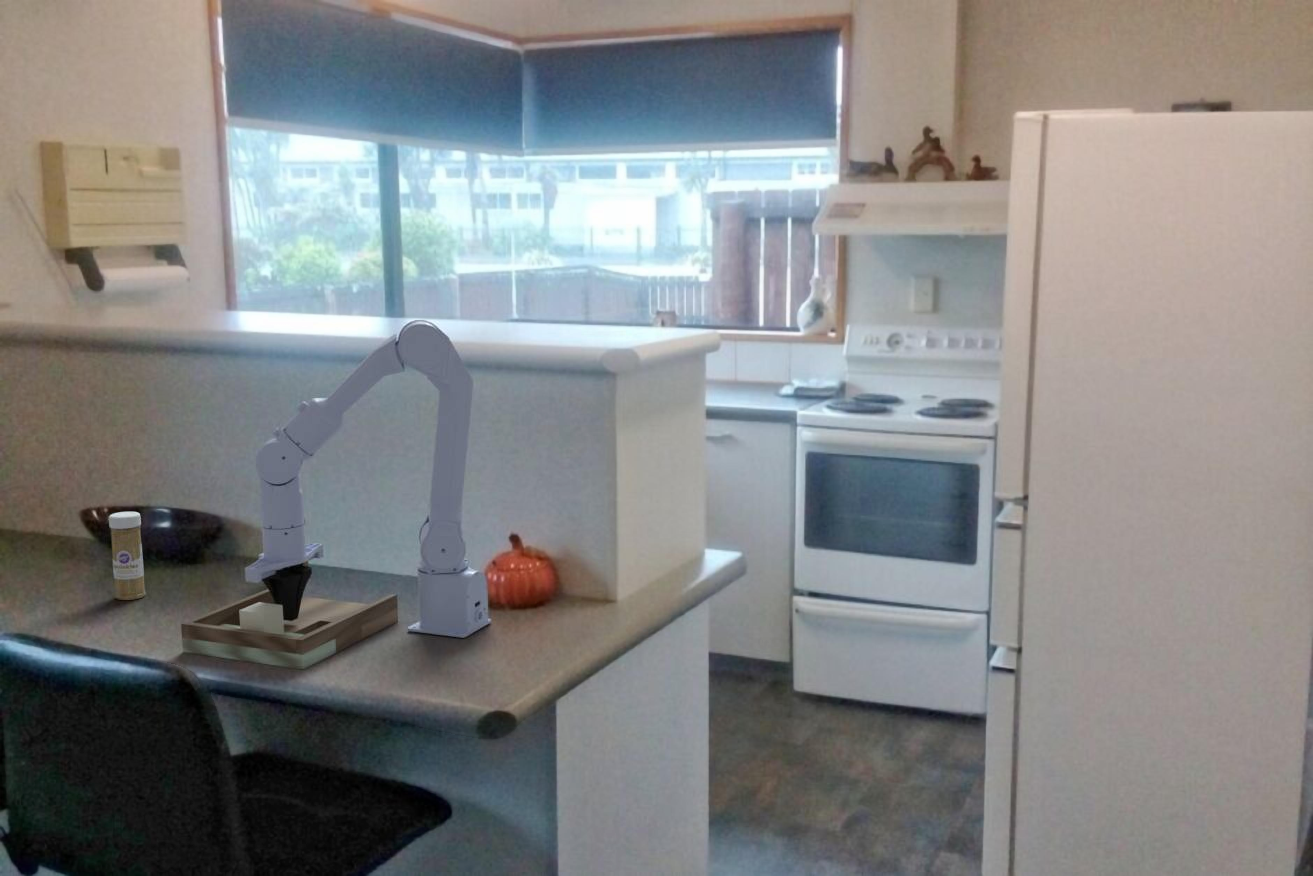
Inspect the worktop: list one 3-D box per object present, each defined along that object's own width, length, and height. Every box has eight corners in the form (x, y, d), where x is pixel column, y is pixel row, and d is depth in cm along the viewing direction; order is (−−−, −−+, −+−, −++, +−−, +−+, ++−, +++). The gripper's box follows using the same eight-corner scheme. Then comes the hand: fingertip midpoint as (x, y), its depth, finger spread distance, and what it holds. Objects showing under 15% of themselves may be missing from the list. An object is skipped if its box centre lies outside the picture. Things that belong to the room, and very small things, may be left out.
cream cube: (284, 633, 170) (282, 605, 170) (264, 641, 167) (263, 613, 166) (260, 629, 172) (258, 602, 171) (241, 638, 168) (239, 610, 167)
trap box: (398, 621, 182) (397, 594, 181) (303, 669, 162) (301, 640, 161) (287, 607, 189) (285, 581, 188) (183, 651, 169) (180, 623, 168)
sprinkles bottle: (115, 602, 192) (108, 518, 190) (115, 594, 197) (108, 512, 194) (146, 598, 194) (140, 515, 192) (146, 591, 198) (140, 509, 196)
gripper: (292, 511, 180) (298, 601, 182) (224, 534, 167) (231, 631, 169) (333, 515, 177) (338, 606, 179) (266, 538, 164) (273, 636, 166)
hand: (289, 619), depth 174 cm, fingers closed
